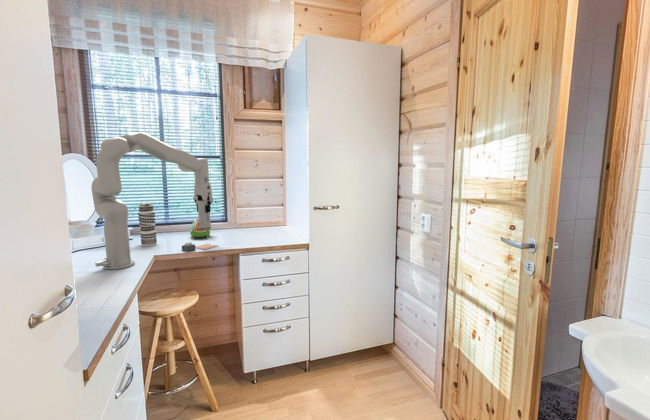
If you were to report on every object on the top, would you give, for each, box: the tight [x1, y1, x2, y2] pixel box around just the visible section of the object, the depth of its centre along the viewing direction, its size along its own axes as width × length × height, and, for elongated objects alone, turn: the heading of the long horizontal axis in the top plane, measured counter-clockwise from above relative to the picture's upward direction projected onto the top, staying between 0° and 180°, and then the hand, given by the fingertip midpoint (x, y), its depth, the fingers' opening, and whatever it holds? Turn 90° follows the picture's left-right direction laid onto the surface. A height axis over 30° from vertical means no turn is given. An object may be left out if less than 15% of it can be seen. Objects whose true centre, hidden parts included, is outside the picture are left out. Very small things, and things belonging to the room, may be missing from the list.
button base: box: [181, 243, 196, 253], centre depth 186 cm, size 5×5×3 cm
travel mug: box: [197, 195, 212, 230], centre depth 191 cm, size 6×7×20 cm
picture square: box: [195, 243, 218, 251], centre depth 194 cm, size 10×10×1 cm
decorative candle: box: [137, 202, 158, 247], centre depth 199 cm, size 9×9×25 cm
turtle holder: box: [189, 218, 211, 240], centre depth 221 cm, size 12×18×12 cm
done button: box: [184, 241, 193, 246], centre depth 186 cm, size 4×4×2 cm
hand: (203, 211), depth 191 cm, fingers closed on travel mug, 6 cm apart
